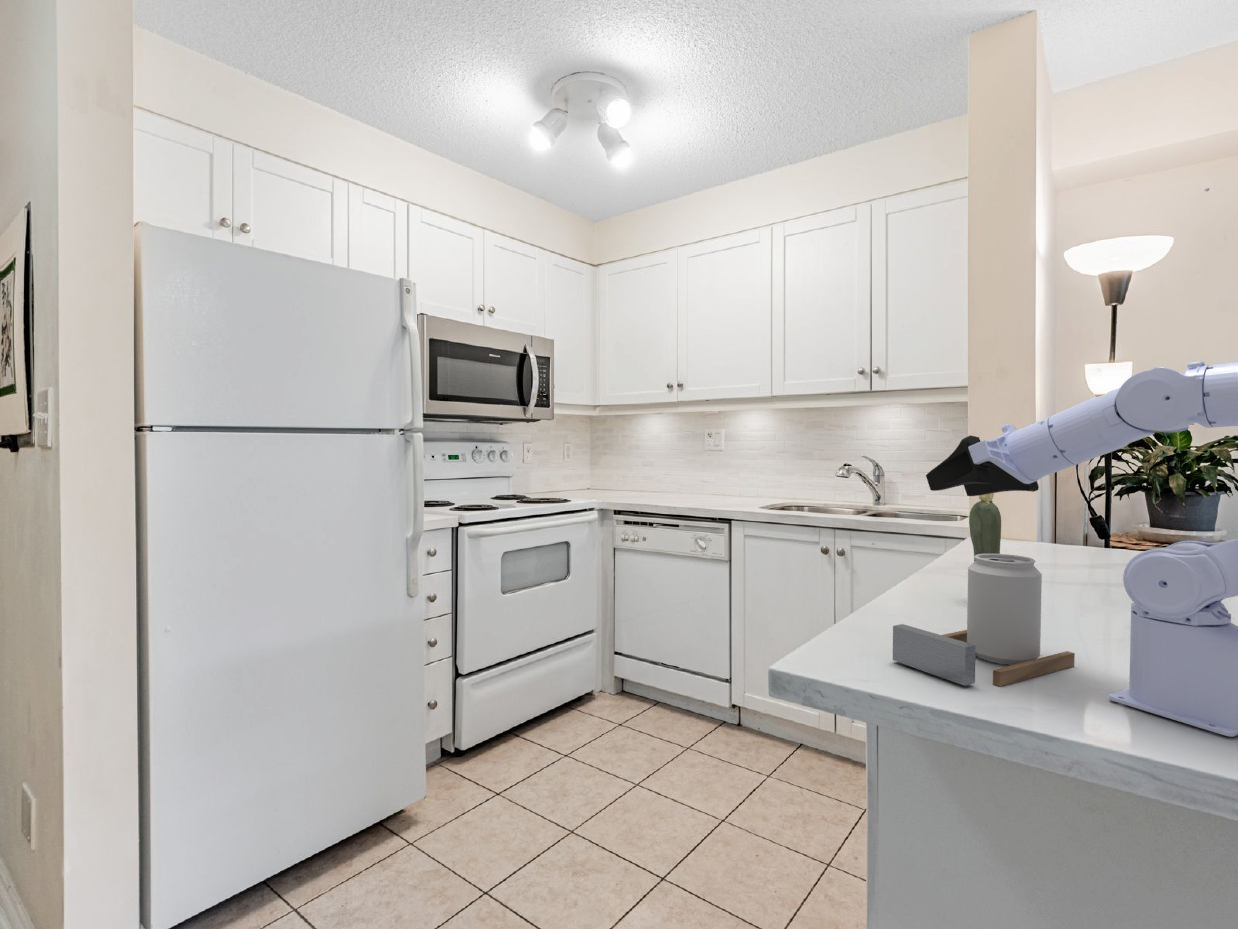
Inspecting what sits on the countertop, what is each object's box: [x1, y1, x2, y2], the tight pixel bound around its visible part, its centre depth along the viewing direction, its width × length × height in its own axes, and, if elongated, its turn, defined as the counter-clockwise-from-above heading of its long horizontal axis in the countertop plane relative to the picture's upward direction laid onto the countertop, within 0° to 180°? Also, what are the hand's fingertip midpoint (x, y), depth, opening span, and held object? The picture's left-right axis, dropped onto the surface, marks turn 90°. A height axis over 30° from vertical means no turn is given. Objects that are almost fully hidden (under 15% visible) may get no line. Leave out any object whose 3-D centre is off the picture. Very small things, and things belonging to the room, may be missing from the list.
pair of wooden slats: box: [941, 629, 1076, 687], centre depth 76 cm, size 12×14×2 cm
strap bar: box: [892, 623, 976, 686], centre depth 72 cm, size 9×2×4 cm, turn 27°
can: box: [966, 553, 1043, 666], centre depth 77 cm, size 8×8×12 cm
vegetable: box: [968, 493, 1002, 563], centre depth 102 cm, size 4×4×20 cm
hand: (948, 485), depth 80 cm, fingers open, 7 cm apart
